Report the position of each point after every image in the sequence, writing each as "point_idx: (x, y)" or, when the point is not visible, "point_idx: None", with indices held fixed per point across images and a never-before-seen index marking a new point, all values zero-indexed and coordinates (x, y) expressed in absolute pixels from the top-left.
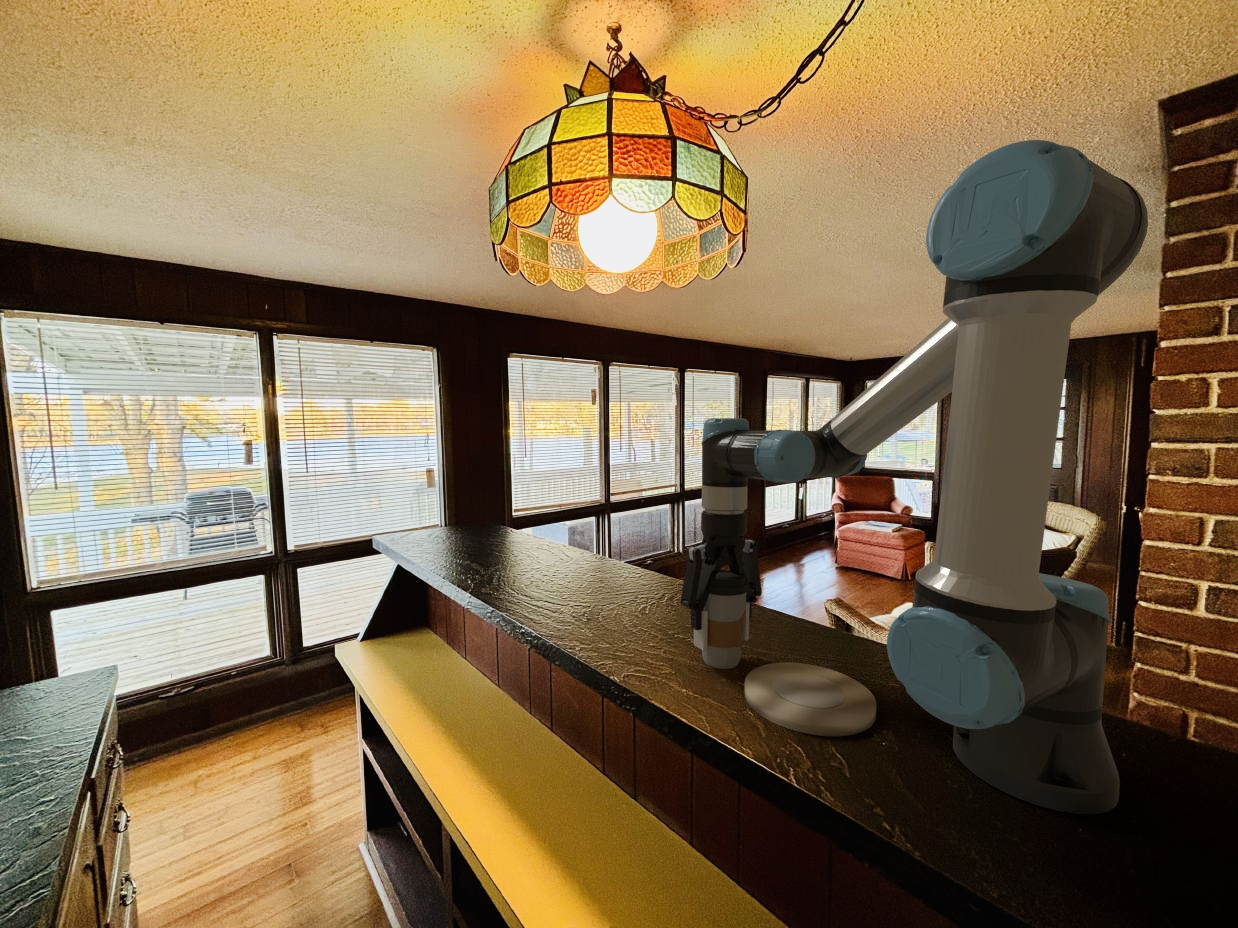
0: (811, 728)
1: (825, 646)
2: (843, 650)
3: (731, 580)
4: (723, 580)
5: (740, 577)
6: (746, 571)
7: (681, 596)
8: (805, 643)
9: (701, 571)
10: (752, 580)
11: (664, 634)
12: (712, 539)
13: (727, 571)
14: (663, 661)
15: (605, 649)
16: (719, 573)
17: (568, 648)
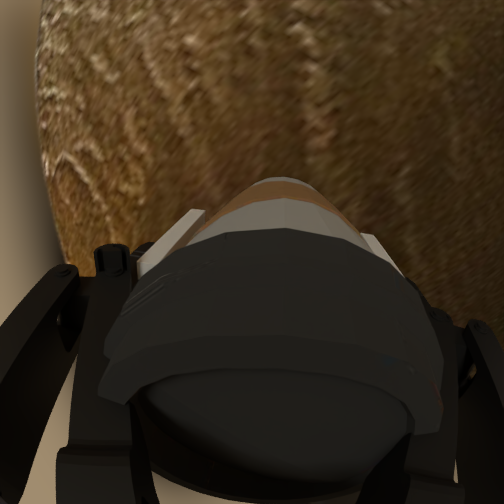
0: None
1: (494, 305)
2: (491, 329)
3: (221, 495)
4: (179, 482)
5: (309, 497)
6: (492, 416)
7: (37, 284)
8: (491, 278)
9: (72, 421)
10: (461, 410)
11: (271, 6)
12: None
13: (411, 415)
14: (152, 143)
15: (87, 33)
16: (319, 414)
17: (46, 15)
